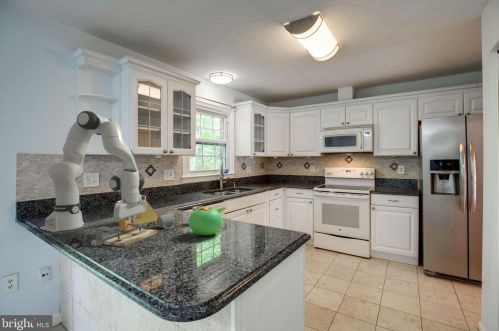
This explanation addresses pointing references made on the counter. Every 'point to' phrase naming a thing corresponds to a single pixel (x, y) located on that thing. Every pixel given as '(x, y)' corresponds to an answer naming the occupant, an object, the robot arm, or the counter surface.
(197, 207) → the mug
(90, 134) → the robot arm
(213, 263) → the counter surface
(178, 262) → the counter surface
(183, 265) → the counter surface
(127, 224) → the sliding leg
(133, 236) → the bolt plate
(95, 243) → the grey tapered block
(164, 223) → the ceramic mug
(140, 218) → the clamp
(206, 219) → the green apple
